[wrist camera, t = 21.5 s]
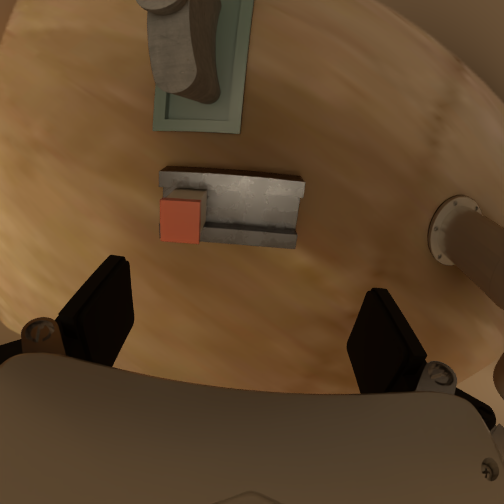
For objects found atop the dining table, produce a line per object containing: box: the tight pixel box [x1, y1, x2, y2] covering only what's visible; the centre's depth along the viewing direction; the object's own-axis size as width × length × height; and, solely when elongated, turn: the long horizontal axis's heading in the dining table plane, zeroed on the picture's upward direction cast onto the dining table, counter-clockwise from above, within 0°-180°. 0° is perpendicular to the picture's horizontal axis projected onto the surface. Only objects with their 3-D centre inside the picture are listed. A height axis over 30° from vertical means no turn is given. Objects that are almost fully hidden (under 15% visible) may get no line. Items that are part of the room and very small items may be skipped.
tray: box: [153, 0, 254, 134], centre depth 30 cm, size 11×23×2 cm, turn 175°
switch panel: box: [159, 166, 305, 249], centre depth 39 cm, size 18×9×4 cm, turn 85°
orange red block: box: [160, 188, 207, 244], centre depth 35 cm, size 4×5×7 cm
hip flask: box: [136, 0, 222, 104], centre depth 22 cm, size 16×4×20 cm, turn 0°
